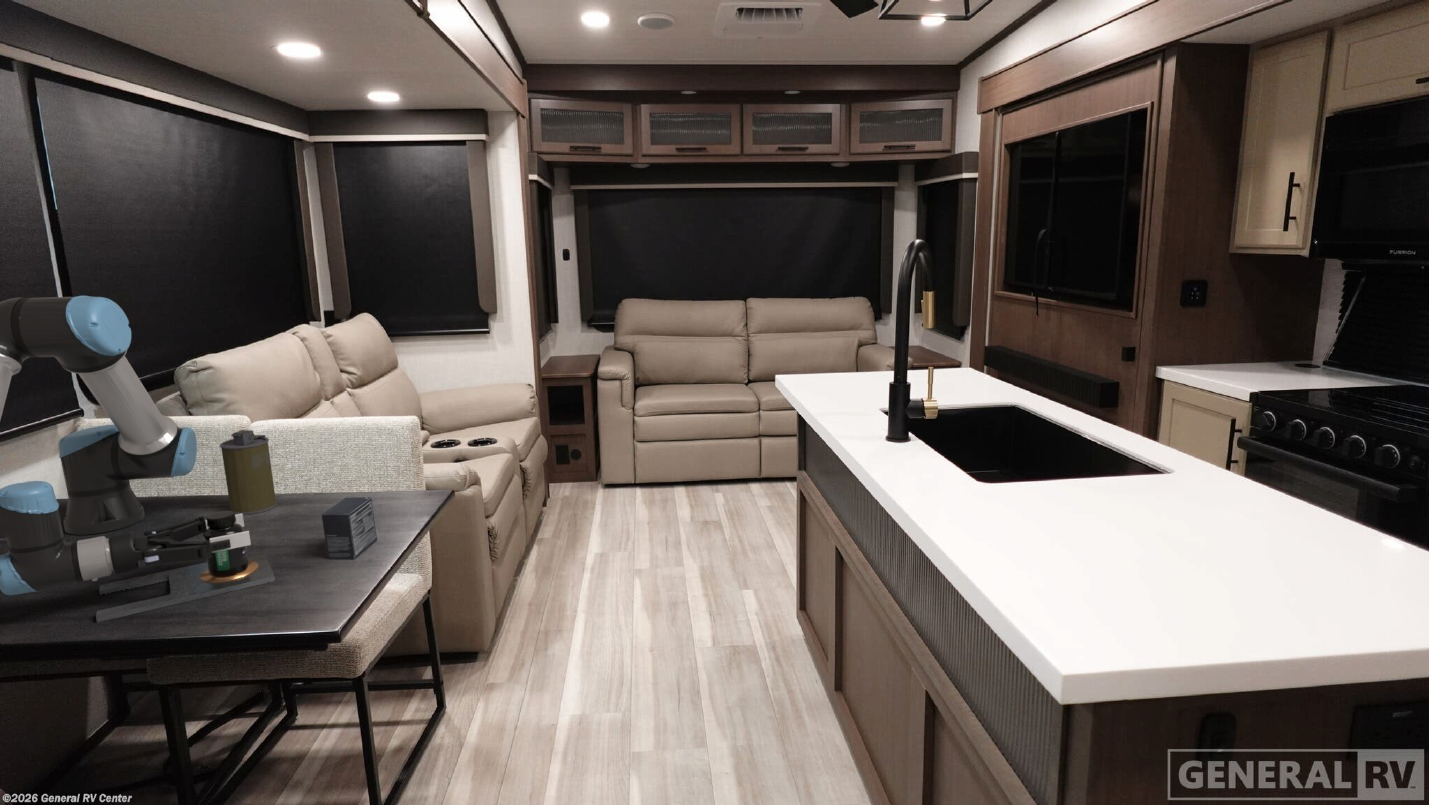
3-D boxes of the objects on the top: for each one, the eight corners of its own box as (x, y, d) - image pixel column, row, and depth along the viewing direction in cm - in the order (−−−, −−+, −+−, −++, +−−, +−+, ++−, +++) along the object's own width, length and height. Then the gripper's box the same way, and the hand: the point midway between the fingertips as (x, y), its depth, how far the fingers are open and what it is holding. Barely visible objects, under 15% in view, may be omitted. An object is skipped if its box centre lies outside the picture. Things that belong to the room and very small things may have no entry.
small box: (350, 540, 173) (344, 496, 171) (378, 540, 173) (373, 496, 171) (325, 559, 163) (319, 513, 160) (355, 560, 162) (350, 513, 160)
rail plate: (97, 622, 136) (95, 616, 136) (100, 589, 149) (99, 584, 149) (275, 581, 153) (274, 575, 152) (264, 554, 165) (264, 549, 165)
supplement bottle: (230, 579, 151) (221, 522, 148) (200, 576, 152) (191, 519, 149) (257, 564, 157) (248, 509, 154) (228, 562, 158) (220, 507, 156)
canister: (255, 516, 187) (244, 437, 183) (219, 513, 189) (207, 435, 185) (288, 501, 198) (278, 426, 193) (253, 498, 200) (243, 424, 195)
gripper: (115, 553, 153) (242, 528, 165) (112, 597, 134) (255, 565, 147) (109, 517, 151) (238, 495, 164) (104, 557, 132) (250, 529, 145)
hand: (246, 528), depth 155 cm, fingers open, 11 cm apart
